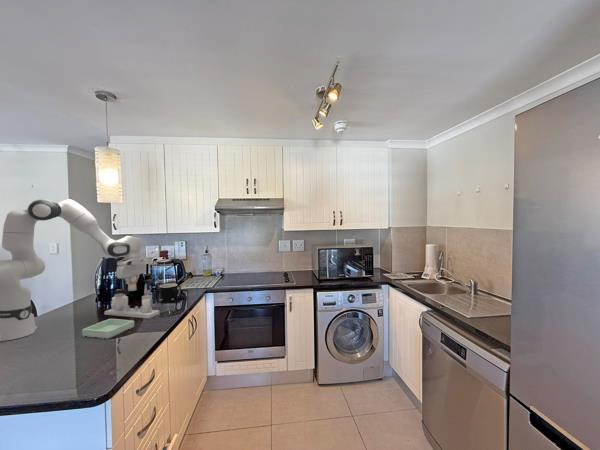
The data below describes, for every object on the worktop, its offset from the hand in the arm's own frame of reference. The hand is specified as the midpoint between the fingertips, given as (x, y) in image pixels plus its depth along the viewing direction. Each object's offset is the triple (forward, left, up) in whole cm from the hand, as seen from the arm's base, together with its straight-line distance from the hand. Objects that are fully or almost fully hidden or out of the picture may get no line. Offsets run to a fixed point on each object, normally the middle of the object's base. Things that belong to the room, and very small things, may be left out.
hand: (131, 282), depth 171 cm
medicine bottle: (-19, +10, -20) cm, 29 cm away
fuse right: (+10, 0, -18) cm, 20 cm away
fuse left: (-10, 0, -18) cm, 20 cm away
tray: (+10, -26, -20) cm, 34 cm away
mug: (+4, +29, -20) cm, 35 cm away
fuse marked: (0, 0, -5) cm, 5 cm away
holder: (0, 0, -20) cm, 20 cm away
